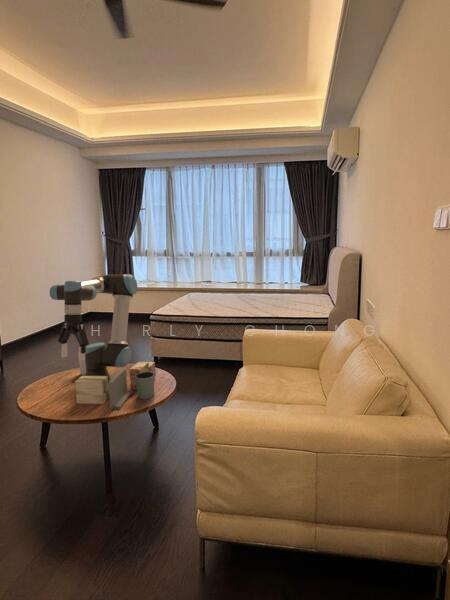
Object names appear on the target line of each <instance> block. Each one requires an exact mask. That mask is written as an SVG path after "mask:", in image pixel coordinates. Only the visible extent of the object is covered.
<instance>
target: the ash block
mask: <svg viewBox="0 0 450 600" xmlns="http://www.w3.org/2000/svg"><path fill="white" fill-rule="evenodd" d="M74 384H75V395H76V396H75V397H76V404H86V405H88V404H93V405H94V404H95V405H96V404H97V405H103V404H105V403H106V402H107V400H108V399H110V396H109V383H108V376H85V375H81V376H79V378H77V379H76V380H75V381H74Z"/></svg>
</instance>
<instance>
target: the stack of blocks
mask: <svg viewBox="0 0 450 600" xmlns="http://www.w3.org/2000/svg"><path fill="white" fill-rule="evenodd" d="M141 372H153V373H154V374H155V376H156V375H157V373H156V362H155V361H138V362H136V364H134V365H133V366H131V367H130V368H129V379H130V380H129V381H130V390H137V385H136V380H135V375H136V374H138V373H141ZM156 377H157V376H156Z"/></svg>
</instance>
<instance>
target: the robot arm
mask: <svg viewBox="0 0 450 600" xmlns="http://www.w3.org/2000/svg"><path fill="white" fill-rule="evenodd" d="M137 292H138V282H137V279H136V277H135V276H133V275H132V274H126V273H123V274H121V273H120V274H119V273H118V274H105V275H100V276H96V277H92V278H90V279H89V280H84V281H79V280H66V281H65V282H64V284H56V285H55V284H54V285H52V286H51V287H50V288H49V297H50V298H51V299H52V300H54V301H64V322H63V323H62V324H61V328H60V332H59V336H58V340H57V342H58V343H60V347H61V348H60V350H61V354H60V355H61V358H63V359H64V358H68V340H69V339H70V336H71V335H74V337H76V340H77V342H78V344H79V347H78V352H79V357H78V362H79V361H82V360H85V365H86V373H85V375H84V376H108V384H109V381H110V380H111V379H112V377H111V375H110V373H109V370H108V367H110V368H111V367H112V368H126V366H128V364H129V363H130V361H131V359H132V352H133V351H132V349H131V347H130V346H129V343H128V341H127V334H128V323H129V311H130V303H131V302H130V301H131V300H132V299H133V298H134V295H136V294H137ZM97 294H98V295H99V294H107V295H112V298H113V299H114V302H113V303H114V305H113V311H112V312H113V313H112V314H113V315H112V325H111V335H110V340H109V341H108V342H107V345H106V343H105V342H95V343H91V344H90V343H89V340H88V335H87V333H86V330H85V324H80V323H81V322H82V320H83V319H82V318H83V317H82V313H83V311H82V307H83V306H82V301H83V302H84V301H85V302H86V301H88V302H89V301H94V300H95V299H96V297H97Z"/></svg>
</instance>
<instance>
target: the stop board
mask: <svg viewBox="0 0 450 600" xmlns="http://www.w3.org/2000/svg"><path fill="white" fill-rule="evenodd" d="M127 383H128V380H127V368H126V367H121V369H120V370H119V371H118V372H117V373H116V374H115V375H114V376H113V377H111V380H110V381H109V383H108V389H109V406H110V407H109V409H110V410H121V409H122V408H123V407H124V405H125V404H126V402H127V401H128V400H129V399H130V398H131V396H132V395H133V393H134V389H130V390H129V389H128V384H127Z"/></svg>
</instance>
